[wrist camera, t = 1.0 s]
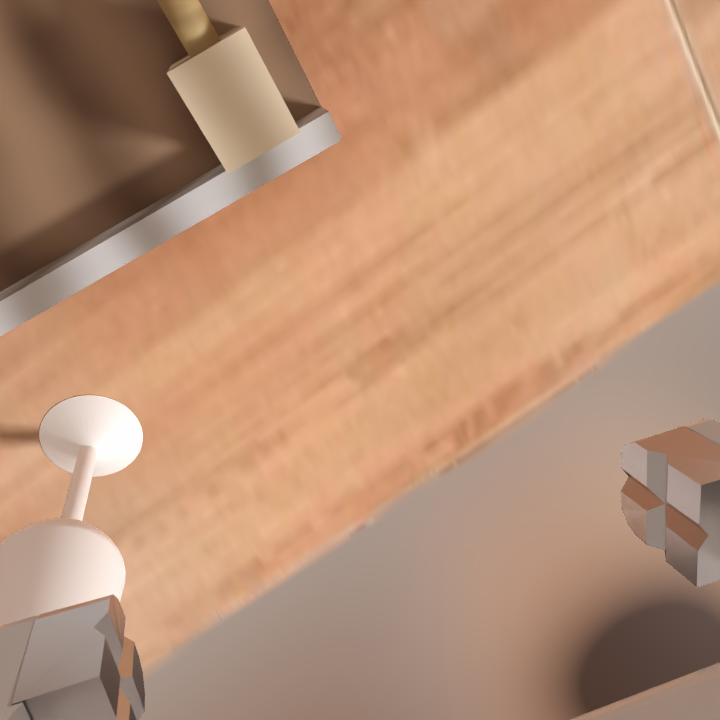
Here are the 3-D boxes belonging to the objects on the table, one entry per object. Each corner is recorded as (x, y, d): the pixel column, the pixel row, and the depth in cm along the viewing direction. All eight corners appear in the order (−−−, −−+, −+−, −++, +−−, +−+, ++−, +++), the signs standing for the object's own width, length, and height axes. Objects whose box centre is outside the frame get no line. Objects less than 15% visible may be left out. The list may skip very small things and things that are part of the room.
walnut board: (195, -136, 32) (195, -158, 28) (328, 127, 39) (342, 139, 35) (-182, 90, 33) (-231, 99, 29) (14, 308, 40) (-5, 339, 36)
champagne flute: (83, 492, 47) (-7, 870, 26) (15, 428, 43) (-151, 803, 23) (163, 445, 46) (135, 790, 26) (101, 377, 43) (11, 710, 22)
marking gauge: (194, -57, 32) (193, -71, 27) (285, 116, 36) (300, 131, 31) (123, -15, 32) (109, -21, 27) (223, 152, 36) (227, 173, 31)
